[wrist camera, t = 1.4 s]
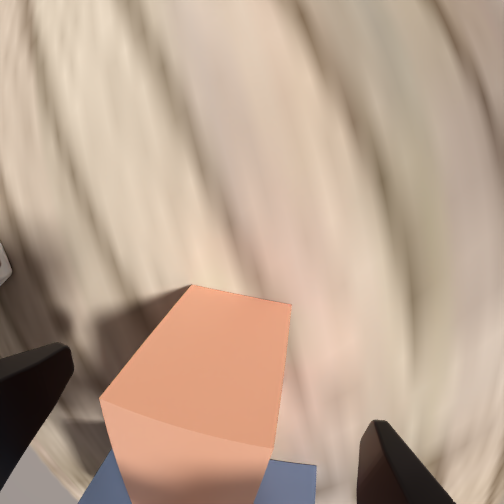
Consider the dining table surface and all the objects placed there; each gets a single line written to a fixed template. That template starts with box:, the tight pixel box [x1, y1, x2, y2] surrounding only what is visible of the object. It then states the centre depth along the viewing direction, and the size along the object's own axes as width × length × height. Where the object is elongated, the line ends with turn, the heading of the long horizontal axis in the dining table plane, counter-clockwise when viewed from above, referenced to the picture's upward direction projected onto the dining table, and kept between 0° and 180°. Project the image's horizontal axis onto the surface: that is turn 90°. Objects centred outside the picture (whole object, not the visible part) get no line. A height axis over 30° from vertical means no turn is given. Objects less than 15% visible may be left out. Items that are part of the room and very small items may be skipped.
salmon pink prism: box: [99, 285, 292, 504], centre depth 10 cm, size 13×4×6 cm, turn 172°
